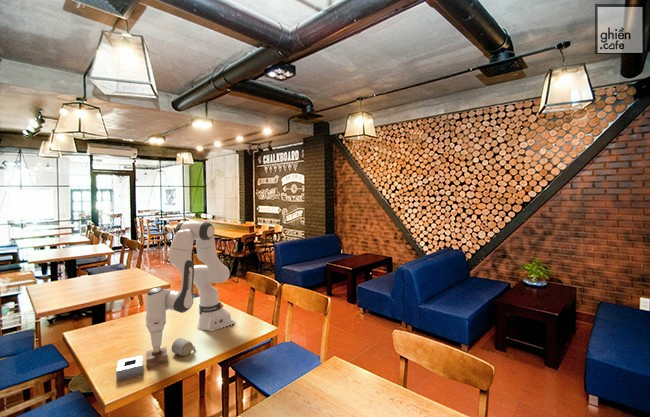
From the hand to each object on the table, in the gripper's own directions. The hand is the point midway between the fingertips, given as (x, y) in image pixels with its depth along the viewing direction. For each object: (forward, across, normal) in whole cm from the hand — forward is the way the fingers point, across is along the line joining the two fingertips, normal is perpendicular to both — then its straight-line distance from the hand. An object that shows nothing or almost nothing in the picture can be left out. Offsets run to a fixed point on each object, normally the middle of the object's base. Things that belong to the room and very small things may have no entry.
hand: (156, 347), depth 153 cm
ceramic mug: (+7, -2, +13) cm, 15 cm away
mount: (+7, 0, 0) cm, 7 cm away
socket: (+7, +6, -11) cm, 14 cm away
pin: (+7, 0, 0) cm, 7 cm away
